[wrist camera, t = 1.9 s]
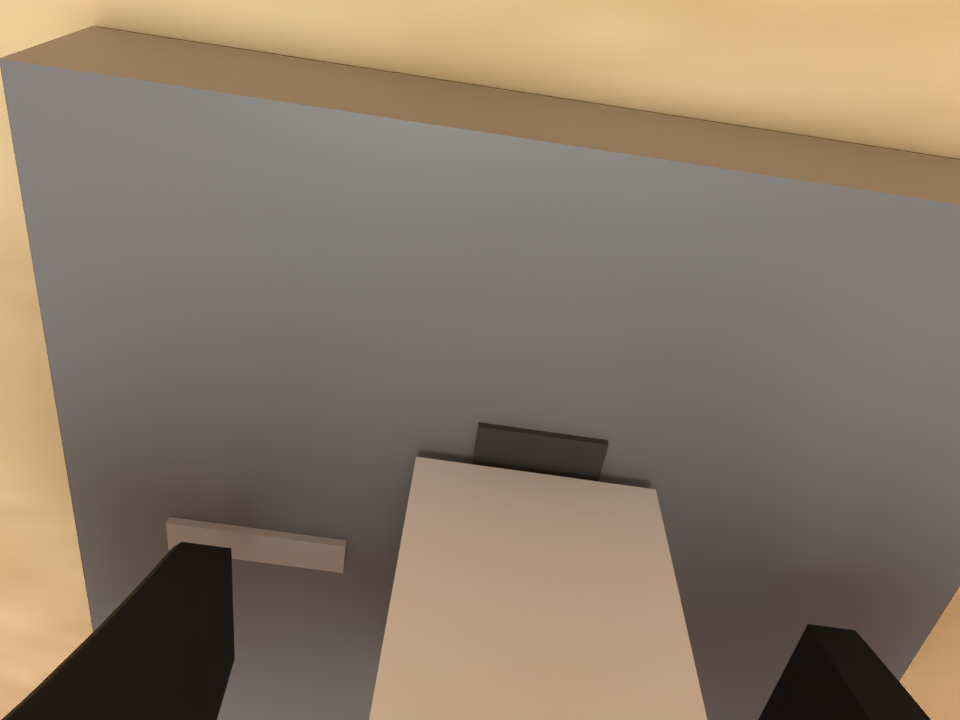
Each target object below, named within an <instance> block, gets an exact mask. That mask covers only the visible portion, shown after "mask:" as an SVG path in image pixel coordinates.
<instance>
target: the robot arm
mask: <svg viewBox="0 0 960 720" xmlns="http://www.w3.org/2000/svg"><path fill="white" fill-rule="evenodd" d="M234 659H235V653H234V619H233V586H232V552H231V548H226V547H218V546H210V545H203V544H195V543H188V542H180V543H179V544H177V545H176V546H174V547H173V548H172V549H171V550H170V551H169V552H168V553H167V554H166V555H165V556H164V558H163V559H162V560H161V561H160V562H159V563H158V564H157V565H156V566H155V568H154V569H153V570H152V571H151V572H150V573H149V574H148V575H147V576H146V577H145V578H144V579H143V581H142V582H141V583H140V584H139V585H138V586H137V587H136V588H135V589H134V590H133V591H132V592H131V593H130V595H129V596H128V597H127V598H126V599H125V600H124V601H123V602H122V603H121V604H120V605H119V606H118V607H117V608H116V609H115V610H114V611H113V612H112V613H111V614H110V615H109V616H108V617H107V618H106V620H105V621H104V622H103V623H102V624H101V625H100V626H99V627H98V628H97V629H96V630H95V631H94V632H93V633H92V634H91V635H90V636H89V637H88V638H87V639H86V640H85V641H84V642H83V643H82V644H81V645H80V646H79V647H78V648H77V649H76V650H75V651H74V652H73V653H72V654H71V655H70V656H68V657H67V658H66V659H65V660H64V661H63V662H62V663H61V664H60V665H59V666H58V667H57V668H56V669H55V670H54V671H53V672H52V673H51V674H50V675H49V676H48V677H47V678H46V679H45V680H44V681H43V682H42V683H41V684H40V685H39V686H38V687H37V688H36V689H35V690H34V691H32V692H31V693H30V694H29V695H28V696H27V697H26V698H25V699H24V700H23V701H22V702H21V703H20V704H18V705H17V706H16V707H15V708H14V709H13V710H12V711H11V712H10V713H8V714H7V715H6V716H5V717H4V718H3V719H2V720H217V718H218V714H219V711H220V708H221V704H222V701H223V697H224V694H225V691H226V687H227V684H228V680H229V677H230V673H231V670H232V666H233V663H234ZM758 720H930V718H929V717H928V716H927V715H926V714H925V712H924V711H923V710H922V709H921V708H920V706H919V705H918V704H917V703H916V702H915V700H914V699H913V698H912V697H911V696H910V694H909V693H908V692H907V691H906V689H905V688H904V687H903V686H902V685H901V683H900V682H899V681H898V680H897V679H896V677H895V676H894V675H893V674H892V673H891V671H890V670H889V669H888V668H887V667H886V665H885V664H884V663H883V662H882V661H881V659H880V658H879V657H878V656H877V655H876V654H875V652H874V651H873V650H872V649H871V648H870V647H869V645H868V644H867V643H866V642H865V641H864V640H863V638H862V637H861V636H860V635H859V634H858V633H857V632H856V631H855V630H849V629H842V628H834V627H827V626H819V625H811V624H807V626H806V628H805V630H804V632H803V634H802V636H801V638H800V640H799V642H798V644H797V646H796V648H795V650H794V652H793V653H792V655H791V657H790V659H789V661H788V663H787V665H786V667H785V669H784V671H783V673H782V675H781V677H780V679H779V681H778V683H777V684H776V686H775V688H774V690H773V692H772V694H771V696H770V698H769V700H768V702H767V704H766V706H765V708H764V710H763V712H762V713H761V715H760V717H759V719H758Z"/></svg>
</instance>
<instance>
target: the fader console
mask: <svg viewBox="0 0 960 720" xmlns="http://www.w3.org/2000/svg"><path fill="white" fill-rule="evenodd" d="M0 68H1V74H2V80H3V86H4V92H5V98H6V104H7V110H8V116H9V122H10V129H11V135H12V141H13V147H14V153H15V159H16V165H17V171H18V177H19V183H20V189H21V195H22V201H23V208H24V214H25V220H26V226H27V232H28V238H29V244H30V250H31V256H32V262H33V268H34V274H35V281H36V287H37V293H38V299H39V305H40V311H41V317H42V323H43V329H44V335H45V341H46V347H47V354H48V360H49V366H50V372H51V378H52V384H53V390H54V396H55V402H56V408H57V414H58V420H59V426H60V433H61V439H62V445H63V451H64V457H65V463H66V469H67V475H68V481H69V487H70V493H71V499H72V506H73V512H74V518H75V524H76V530H77V536H78V542H79V548H80V554H81V560H82V566H83V572H84V579H85V585H86V591H87V597H88V603H89V609H90V615H91V621H92V627H93V632H94V631H95V630H96V629H97V628H98V627H99V626H100V625H101V624H102V623H103V622H104V621H105V620H106V618H107V617H108V616H109V615H110V614H111V613H112V612H113V611H114V610H115V609H116V608H117V607H118V606H119V605H120V604H121V603H122V602H123V601H124V600H125V599H126V598H127V597H128V596H129V595H130V593H131V592H132V591H133V590H134V589H135V588H136V587H137V586H138V585H139V584H140V583H141V582H142V581H143V579H144V578H145V577H146V576H147V575H148V574H149V573H150V572H151V571H152V570H153V569H154V568H155V566H156V565H157V564H158V563H159V562H160V561H161V560H162V559H163V558H164V556H165V555H166V554H167V553H168V552H169V551H170V550H171V549H172V548H173V547H174V546H176V545H177V544H179V543H180V542H188V543H195V544H203V545H210V546H218V547H226V548H231V552H232V586H233V619H234V653H235V659H234V663H233V666H232V670H231V673H230V677H229V680H228V684H227V687H226V691H225V694H224V697H223V701H222V704H221V708H220V711H219V714H218V718H217V720H369V718H370V712H371V706H372V701H373V695H374V689H375V684H376V678H377V673H378V667H379V661H380V656H381V650H382V645H383V639H384V633H385V628H386V622H387V617H388V611H389V605H390V600H391V594H392V589H393V583H394V577H395V572H396V566H397V561H398V555H399V549H400V544H401V538H402V533H403V527H404V521H405V516H406V510H407V505H408V499H409V493H410V488H411V482H412V477H413V471H414V465H415V460H416V457H422V458H430V459H437V460H444V461H452V462H459V463H466V464H474V465H481V466H488V467H495V468H503V469H510V470H517V471H525V472H532V473H539V474H547V475H554V476H561V477H569V478H576V479H583V480H590V481H598V482H605V483H612V484H620V485H627V486H634V487H642V488H649V489H656V492H657V497H658V501H659V506H660V510H661V515H662V519H663V524H664V528H665V533H666V537H667V542H668V546H669V551H670V555H671V560H672V564H673V569H674V573H675V577H676V582H677V586H678V591H679V595H680V600H681V604H682V609H683V613H684V618H685V622H686V627H687V631H688V636H689V640H690V645H691V649H692V653H693V658H694V662H695V667H696V671H697V676H698V680H699V685H700V689H701V694H702V698H703V703H704V707H705V712H706V716H707V720H758V719H759V717H760V715H761V713H762V712H763V710H764V708H765V706H766V704H767V702H768V700H769V698H770V696H771V694H772V692H773V690H774V688H775V686H776V684H777V683H778V681H779V679H780V677H781V675H782V673H783V671H784V669H785V667H786V665H787V663H788V661H789V659H790V657H791V655H792V653H793V652H794V650H795V648H796V646H797V644H798V642H799V640H800V638H801V636H802V634H803V632H804V630H805V628H806V626H807V624H811V625H819V626H827V627H834V628H842V629H849V630H855V631H856V632H857V633H858V634H859V635H860V636H861V637H862V638H863V640H864V641H865V642H866V643H867V644H868V645H869V647H870V648H871V649H872V650H873V651H874V652H875V654H876V655H877V656H878V657H879V658H880V659H881V661H882V662H883V663H884V664H885V665H886V667H887V668H888V669H889V670H890V671H891V673H892V674H893V675H894V676H895V677H896V679H897V680H898V681H899V680H900V679H901V677H902V676H903V674H904V673H905V671H906V669H907V668H908V666H909V665H910V663H911V662H912V660H913V659H914V657H915V655H916V654H917V652H918V651H919V649H920V648H921V646H922V644H923V643H924V641H925V640H926V638H927V637H928V635H929V633H930V632H931V630H932V629H933V627H934V626H935V624H936V622H937V621H938V619H939V618H940V616H941V615H942V613H943V611H944V610H945V608H946V607H947V605H948V604H949V602H950V601H951V599H952V597H953V596H954V594H955V593H956V591H957V590H958V588H959V586H960V160H959V159H952V158H946V157H939V156H933V155H926V154H920V153H913V152H907V151H900V150H894V149H887V148H881V147H874V146H868V145H861V144H855V143H848V142H842V141H835V140H829V139H822V138H816V137H809V136H803V135H796V134H790V133H783V132H777V131H770V130H764V129H757V128H751V127H744V126H738V125H731V124H725V123H718V122H712V121H705V120H699V119H692V118H686V117H679V116H673V115H666V114H660V113H653V112H647V111H640V110H634V109H627V108H621V107H614V106H608V105H601V104H595V103H588V102H582V101H576V100H569V99H563V98H556V97H550V96H543V95H537V94H530V93H524V92H517V91H511V90H504V89H498V88H491V87H485V86H478V85H472V84H465V83H459V82H452V81H446V80H439V79H433V78H426V77H420V76H413V75H407V74H400V73H394V72H387V71H381V70H374V69H368V68H361V67H355V66H348V65H342V64H335V63H329V62H322V61H316V60H309V59H303V58H296V57H290V56H283V55H277V54H270V53H264V52H257V51H251V50H244V49H238V48H231V47H225V46H218V45H212V44H205V43H199V42H192V41H186V40H179V39H173V38H166V37H160V36H153V35H147V34H140V33H134V32H127V31H121V30H114V29H108V28H101V27H95V26H92V27H89V28H86V29H83V30H80V31H77V32H75V33H72V34H69V35H66V36H63V37H60V38H57V39H54V40H51V41H49V42H46V43H43V44H40V45H37V46H34V47H31V48H28V49H25V50H23V51H20V52H17V53H14V54H11V55H8V56H5V57H2V58H0Z"/></svg>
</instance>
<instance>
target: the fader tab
mask: <svg viewBox="0 0 960 720" xmlns="http://www.w3.org/2000/svg"><path fill="white" fill-rule="evenodd" d="M369 720H707V716H706V712H705V707H704V703H703V698H702V694H701V689H700V685H699V680H698V676H697V671H696V667H695V662H694V658H693V653H692V649H691V645H690V640H689V636H688V631H687V627H686V622H685V618H684V613H683V609H682V604H681V600H680V595H679V591H678V586H677V582H676V577H675V573H674V569H673V564H672V560H671V555H670V551H669V546H668V542H667V537H666V533H665V528H664V524H663V519H662V515H661V510H660V506H659V501H658V497H657V492H656V489H649V488H642V487H634V486H627V485H620V484H612V483H605V482H598V481H590V480H583V479H576V478H569V477H561V476H554V475H547V474H539V473H532V472H525V471H517V470H510V469H503V468H495V467H488V466H481V465H474V464H466V463H459V462H452V461H444V460H437V459H430V458H422V457H416V460H415V465H414V471H413V477H412V482H411V488H410V493H409V499H408V505H407V510H406V516H405V521H404V527H403V533H402V538H401V544H400V549H399V555H398V561H397V566H396V572H395V577H394V583H393V589H392V594H391V600H390V605H389V611H388V617H387V622H386V628H385V633H384V639H383V645H382V650H381V656H380V661H379V667H378V673H377V678H376V684H375V689H374V695H373V701H372V706H371V712H370V718H369Z"/></svg>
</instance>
